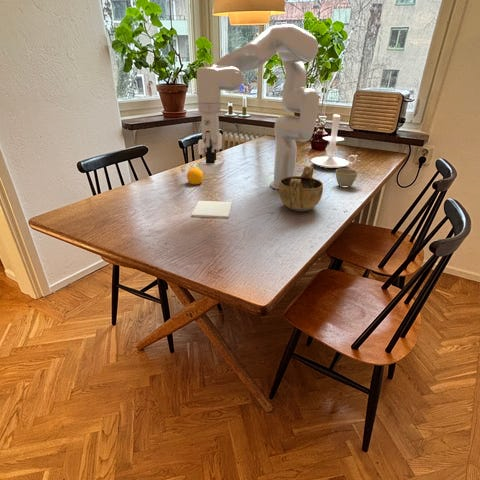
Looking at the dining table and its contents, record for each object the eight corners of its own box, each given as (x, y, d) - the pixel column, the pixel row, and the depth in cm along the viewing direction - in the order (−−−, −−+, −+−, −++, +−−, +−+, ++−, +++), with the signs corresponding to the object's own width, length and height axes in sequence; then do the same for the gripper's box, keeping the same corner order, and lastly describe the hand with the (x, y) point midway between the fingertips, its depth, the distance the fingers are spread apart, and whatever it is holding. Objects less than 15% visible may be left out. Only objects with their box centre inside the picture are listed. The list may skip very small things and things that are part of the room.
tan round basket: (312, 223, 119) (317, 183, 112) (269, 214, 125) (271, 176, 118) (325, 202, 137) (330, 167, 130) (286, 195, 143) (289, 161, 136)
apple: (201, 186, 152) (200, 171, 149) (185, 185, 154) (183, 169, 150) (205, 181, 159) (205, 166, 156) (190, 180, 161) (189, 165, 157)
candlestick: (348, 176, 168) (358, 119, 155) (304, 168, 181) (310, 114, 167) (360, 167, 183) (370, 114, 170) (319, 160, 195) (325, 110, 182)
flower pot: (356, 184, 157) (359, 169, 153) (353, 190, 149) (356, 175, 146) (335, 181, 161) (337, 167, 157) (331, 187, 153) (333, 172, 149)
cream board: (232, 203, 134) (232, 201, 134) (228, 218, 122) (228, 216, 122) (198, 202, 135) (198, 200, 135) (191, 216, 123) (191, 214, 123)
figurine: (205, 168, 126) (203, 127, 118) (227, 171, 122) (226, 129, 115) (195, 173, 120) (192, 131, 113) (217, 176, 116) (215, 133, 109)
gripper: (217, 111, 103) (218, 168, 112) (223, 105, 117) (223, 156, 126) (193, 110, 104) (196, 167, 112) (202, 105, 118) (204, 155, 127)
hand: (211, 161), depth 119 cm, fingers closed on figurine, 3 cm apart
